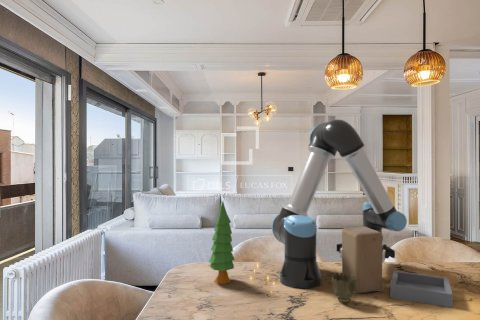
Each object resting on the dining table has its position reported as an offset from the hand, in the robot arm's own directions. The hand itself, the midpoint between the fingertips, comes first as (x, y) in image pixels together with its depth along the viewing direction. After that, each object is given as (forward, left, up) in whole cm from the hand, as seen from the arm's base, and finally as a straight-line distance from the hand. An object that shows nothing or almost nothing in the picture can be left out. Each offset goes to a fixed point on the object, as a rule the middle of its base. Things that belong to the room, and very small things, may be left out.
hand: (361, 255), depth 117 cm
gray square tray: (+18, +4, -11) cm, 22 cm away
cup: (-3, -15, -11) cm, 19 cm away
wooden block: (0, 0, -11) cm, 11 cm away
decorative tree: (-47, -16, -11) cm, 51 cm away
